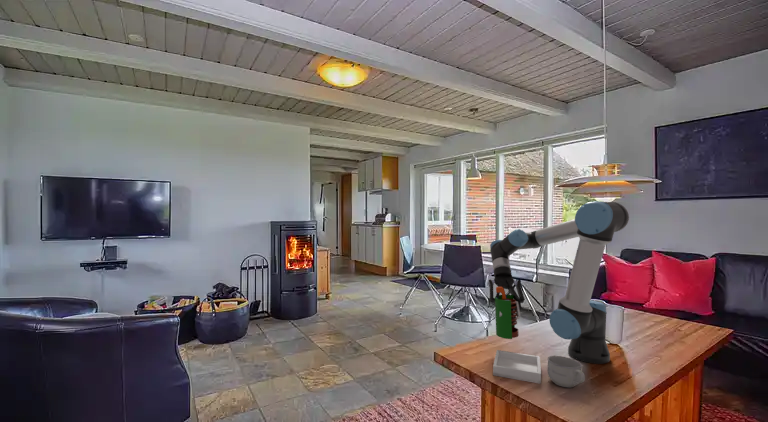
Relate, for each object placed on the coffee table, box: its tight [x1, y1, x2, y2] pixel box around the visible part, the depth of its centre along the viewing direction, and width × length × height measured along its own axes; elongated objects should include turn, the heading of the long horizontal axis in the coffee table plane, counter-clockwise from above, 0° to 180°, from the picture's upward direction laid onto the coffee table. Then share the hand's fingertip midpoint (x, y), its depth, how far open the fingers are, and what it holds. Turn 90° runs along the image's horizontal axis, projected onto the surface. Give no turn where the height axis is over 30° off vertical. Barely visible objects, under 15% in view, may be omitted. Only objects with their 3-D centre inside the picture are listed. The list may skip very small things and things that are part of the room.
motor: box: [494, 286, 519, 340], centre depth 156 cm, size 10×9×20 cm
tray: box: [492, 349, 542, 384], centre depth 140 cm, size 16×16×4 cm
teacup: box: [546, 355, 586, 388], centre depth 128 cm, size 14×11×8 cm
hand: (509, 316), depth 152 cm, fingers closed on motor, 6 cm apart
